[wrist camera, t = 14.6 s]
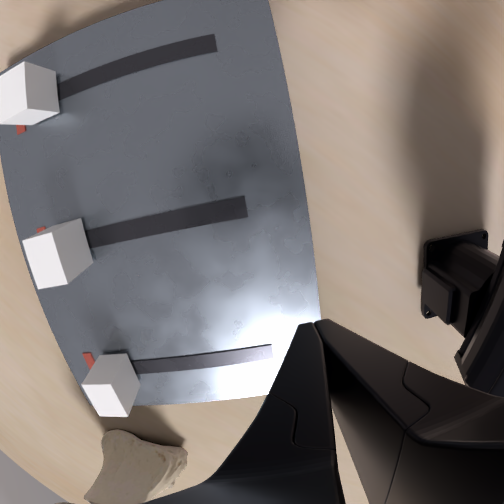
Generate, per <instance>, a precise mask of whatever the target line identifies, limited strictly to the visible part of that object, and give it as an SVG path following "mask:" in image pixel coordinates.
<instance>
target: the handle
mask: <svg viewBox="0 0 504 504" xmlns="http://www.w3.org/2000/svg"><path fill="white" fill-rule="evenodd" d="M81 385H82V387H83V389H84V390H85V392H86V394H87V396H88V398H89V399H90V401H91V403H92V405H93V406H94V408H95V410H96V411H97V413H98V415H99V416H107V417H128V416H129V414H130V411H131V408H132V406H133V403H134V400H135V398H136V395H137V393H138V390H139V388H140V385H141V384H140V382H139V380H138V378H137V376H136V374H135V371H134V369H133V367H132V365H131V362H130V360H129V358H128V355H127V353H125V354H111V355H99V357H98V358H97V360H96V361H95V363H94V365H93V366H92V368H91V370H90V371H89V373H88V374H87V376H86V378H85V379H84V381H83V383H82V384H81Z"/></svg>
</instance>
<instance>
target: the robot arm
mask: <svg viewBox="0 0 504 504" xmlns="http://www.w3.org/2000/svg"><path fill="white" fill-rule="evenodd" d="M482 235H483V237H482ZM430 245H432V248H431V249H430V250H429V247H430ZM502 247H503V248H502V251H501V254H500V256H498V255H496V254H494V253H492V252H490V251H489V250H488V232H487V231H486V230H483V229H480V230H476V231H471V232H466V233H461V234H456V235H451V236H447V237H442V238H437V239H432V240H428V241H427V242H426V243H425V244H424V269H423V271H422V292H421V300H422V315H423V316H424V317H425V318H426V319H428V318H432V317H435V316H438V317H439V318H440V319H441V320H442V321H443V322H444V323H445V324H447V325H450V324H451V325H452V326H453V327H454V328H455V329H456V330H457V331H458V332H459V333H460V334H461V335H462V336H463V337H464V338H465V340H464V342H463V344H462V346H461V348H460V350H458V351H457V352H456V354H455V356H454V358H455V361H456V363H457V366H458V368H459V370H460V373H461V375H462V378H463V380H464V383H465V385H463V384H460V383H457V382H455V381H452V380H449V379H447V378H444V377H442V376H439V375H437V374H435V373H432V372H430V371H428V370H426V369H424V368H422V367H420V366H418V365H416V364H414V363H412V362H408V360H406V359H404V358H402V357H400V356H398V355H396V354H394V353H392V352H390V351H388V350H387V349H385V348H383V347H381V346H379V345H377V344H375V343H373V342H371V341H369V340H367V339H366V338H364V337H362V336H360V335H358V334H356V333H354V332H352V331H350V330H348V329H347V328H345V327H343V326H341V325H339V324H337V323H335V322H333V321H332V320H330V319H323V320H318V321H315V322H314V323H313V322H307V323H302V324H299V325H298V327H297V329H296V331H295V334H294V336H293V338H292V341H291V343H290V345H289V348H288V350H287V352H286V355H285V357H284V359H283V361H282V364H281V366H280V368H279V370H278V373H277V375H276V377H275V379H274V381H273V383H272V386H271V388H270V390H269V392H268V394H267V396H266V398H265V400H264V403H263V405H262V406H261V408H260V410H259V412H258V414H257V416H256V418H255V419H254V421H253V422H252V424H251V425H250V427H249V428H248V430H247V431H246V432H245V434H244V435H243V437H242V438H241V439H240V441H239V442H238V443H237V445H236V446H235V447H234V449H233V450H232V451H231V453H230V454H229V455H228V457H227V458H226V459H225V461H224V462H223V463H222V465H221V466H220V467H219V468H218V470H217V471H216V472H215V473H214V474H213V475H212V476H211V477H209V478H208V479H207V480H205V481H204V482H202V483H200V484H198V485H196V486H193V487H190V488H187V489H185V490H182V491H179V492H176V493H173V494H170V495H167V496H164V497H160V498H157V499H154V500H150V501H147V502H144V503H140V504H346V503H345V498H344V494H343V489H342V485H341V480H340V476H339V471H338V463H337V454H336V443H335V433H334V424H333V415H332V409H333V411H334V414H335V416H336V419H337V422H338V424H339V427H340V429H341V432H342V434H343V437H344V439H345V442H346V444H347V447H348V449H349V452H350V455H351V457H352V460H353V462H354V465H355V467H356V470H357V472H358V475H359V478H360V480H361V483H362V485H363V488H364V491H365V493H366V496H367V498H368V501H369V504H504V240H503V244H502ZM428 311H429V312H428ZM427 312H428V313H427ZM426 313H427V314H426ZM56 504H73V503H65V502H62V503H56Z"/></svg>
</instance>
